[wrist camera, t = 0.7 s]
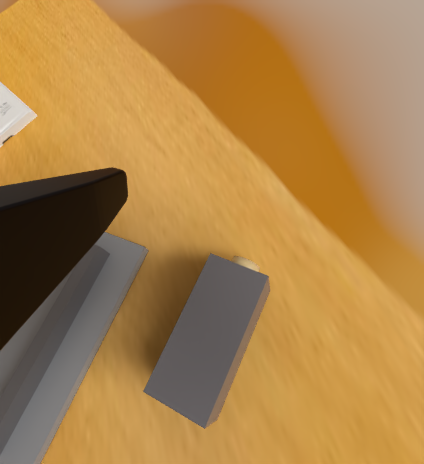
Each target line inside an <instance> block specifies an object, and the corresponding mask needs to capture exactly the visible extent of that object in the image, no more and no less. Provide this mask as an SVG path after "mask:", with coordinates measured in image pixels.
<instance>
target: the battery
mask: <svg viewBox="0 0 424 464" xmlns="http://www.w3.org/2000/svg"><path fill="white" fill-rule="evenodd" d="M259 270H260V267H259V266H258V265H257V264H255V263H254V262H252V261H250V260H248V259H246V258H243V257H240V256H234V257H233V259H232V261H229V260H226V259H224V258H221V257H219V256H216V255H214V254H211V253H210V255H209V257H208V259H207V261H206V264H205V266H204V268H203V270H202V272H201V274H200V276H199V278H198V280H197V282H196V284H195V286H194V288H193V290H192V292H191V294H190V296H189V298H188V300H187V303H186V305H185V307H184V309H183V311H182V313H181V315H180V317H179V319H178V321H177V323H176V325H175V327H174V329H173V331H172V333H171V335H170V337H169V340H168V342H167V344H166V346H165V348H164V350H163V352H162V354H161V356H160V358H159V360H158V362H157V364H156V366H155V368H154V370H153V372H152V374H151V377H150V379H149V381H148V383H147V385H146V387H145V389H144V391H143V392H145V393H146V394H148V395H150V396H151V397H153V398H155V399H156V400H158V401H160V402H161V403H163V404H165V405H166V406H168V407H170V408H171V409H173V410H175V411H176V412H178V413H180V414H181V415H183V416H185V417H186V418H188V419H190V420H191V421H193V422H195V423H196V424H198V425H199V426H201V427H203V428H204V429H205V428H206V427H208V426H209V425H210V424H212V423H213V422H215V421H216V420H217V419H218V417H219V414H220V412H221V409H222V407H223V404H224V402H225V399H226V397H227V395H228V392H229V390H230V387H231V385H232V382H233V380H234V378H235V375H236V373H237V370H238V368H239V365H240V363H241V360H242V358H243V356H244V353H245V351H246V348H247V346H248V343H249V341H250V339H251V336H252V334H253V331H254V329H255V326H256V324H257V322H258V319H259V317H260V314H261V312H262V309H263V307H264V304H265V302H266V300H267V297H268V295H269V292H270V285H269V277H268V276H267V275H264V274H262V273H259Z"/></svg>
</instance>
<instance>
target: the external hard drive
mask: <svg viewBox="0 0 424 464" xmlns="http://www.w3.org/2000/svg"><path fill="white" fill-rule="evenodd" d="M36 117H37V115H36V114H35V113H34V112H33V111H32V110H31V109H30V108H29V107H28V106H27V105H26V104H25V103H23V102H22V101H21V100H20V99H19V98H18V97H17V96H16V95H15V94H13V93H12V92H11V91H10V90H9V89H8V88H7V87H6V86H4V85H3V84H2V83H1V82H0V147H1V146H2V145H3V143H4V142H5V141H7V140H8V139H9V138H10V137H11V136H14V135H16V134H17V133H18V132H19V131H20V130H21V129H23V128H24V127H25V126H26V125H27V124H29V123H30V122H31V121H32V120H33V119H34V118H36Z"/></svg>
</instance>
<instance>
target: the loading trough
mask: <svg viewBox="0 0 424 464" xmlns="http://www.w3.org/2000/svg"><path fill="white" fill-rule="evenodd" d="M147 252H148V250H147V249H146V248H145V247H143V246H141V245H138V244H135V243H133V242H130V241H127V240H125V239H122V238H119V237H117V236H114V235H111V234H109V233H106V232H104V233H103V235H102V236H101V237H100V238H99V240H98V241H97V242H96V243H95V244H94V245H93V247H92V248H91V249H90V250H89V251H88V252H87V253H86V254H85V256H84V257H83V258H82V259H81V260H80V261H79V262H78V264H77V265H76V266H75V267H74V268H73V269H72V270H71V271H70V273H69V274H68V275H67V276H66V277H65V278H64V279H63V280H62V282H61V283H60V284H59V285H58V286H57V287H56V288H55V290H54V291H53V292H52V293H51V294H50V295H49V296H48V297H47V299H46V300H45V301H44V302H43V303H42V304H41V305H40V307H39V308H38V309H37V310H36V311H35V312H34V313H33V314H32V316H31V317H30V318H29V319H28V320H27V321H26V322H25V324H24V325H23V326H22V327H21V328H20V329H19V330H18V331H17V333H16V334H15V335H14V336H13V337H12V338H11V339H10V340H9V342H8V343H7V344H6V345H5V346H4V347H3V348H2V350H1V351H0V464H40V463H41V461H42V459H43V457H44V455H45V453H46V451H47V449H48V447H49V445H50V443H51V441H52V439H53V438H54V436H55V434H56V432H57V430H58V428H59V426H60V424H61V422H62V420H63V418H64V416H65V414H66V412H67V410H68V408H69V406H70V404H71V402H72V400H73V398H74V396H75V394H76V392H77V390H78V388H79V386H80V384H81V382H82V380H83V378H84V376H85V375H86V373H87V371H88V369H89V367H90V365H91V363H92V361H93V359H94V357H95V355H96V353H97V351H98V349H99V347H100V345H101V343H102V341H103V339H104V337H105V335H106V333H107V331H108V329H109V327H110V325H111V323H112V321H113V319H114V317H115V315H116V313H117V312H118V310H119V308H120V306H121V304H122V302H123V300H124V298H125V296H126V294H127V292H128V290H129V288H130V286H131V284H132V282H133V280H134V278H135V276H136V274H137V272H138V270H139V268H140V266H141V264H142V262H143V260H144V258H145V256H146V254H147Z"/></svg>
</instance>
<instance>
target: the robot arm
mask: <svg viewBox="0 0 424 464" xmlns="http://www.w3.org/2000/svg"><path fill="white" fill-rule="evenodd" d="M127 197H128V188H127V176H126V173H125V172H124V171H123V170H120V169H117V168H105V169H100V170H94V171H88V172H82V173H76V174H70V175H64V176H58V177H52V178H47V179H41V180H35V181H29V182H23V183H17V184H11V185H5V186H0V351H1V350H2V348H3V347H4V346H5V345H6V344H7V343H8V342H9V340H10V339H11V338H12V337H13V336H14V335H15V334H16V333H17V331H18V330H19V329H20V328H21V327H22V326H23V325H24V324H25V322H26V321H27V320H28V319H29V318H30V317H31V316H32V314H33V313H34V312H35V311H36V310H37V309H38V308H39V307H40V305H41V304H42V303H43V302H44V301H45V300H46V299H47V297H48V296H49V295H50V294H51V293H52V292H53V291H54V290H55V288H56V287H57V286H58V285H59V284H60V283H61V282H62V280H63V279H64V278H65V277H66V276H67V275H68V274H69V273H70V271H71V270H72V269H73V268H74V267H75V266H76V265H77V264H78V262H79V261H80V260H81V259H82V258H83V257H84V256H85V254H86V253H87V252H88V251H89V250H90V249H91V248H92V247H93V245H94V244H95V243H96V242H97V241H98V240H99V238H100V237H101V236H102V235H103V233H104V232H105V231H106V229H107V228H108V226H109V225H110V224H111V222H112V221H113V219H114V218H115V217H116V215H117V214H118V212H119V211H120V209H121V208H122V207H123V205H124V204H125V202H126V200H127Z"/></svg>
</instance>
